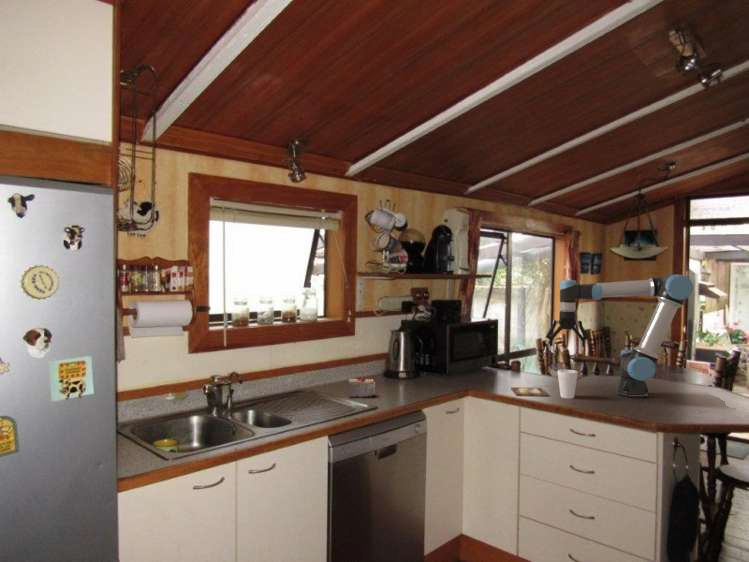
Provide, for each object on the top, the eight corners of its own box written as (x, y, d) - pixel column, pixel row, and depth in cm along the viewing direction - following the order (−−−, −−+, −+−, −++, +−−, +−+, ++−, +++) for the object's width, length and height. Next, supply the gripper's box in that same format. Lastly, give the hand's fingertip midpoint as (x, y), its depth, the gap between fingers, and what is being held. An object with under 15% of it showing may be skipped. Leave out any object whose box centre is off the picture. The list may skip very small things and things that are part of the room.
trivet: (541, 389, 287) (541, 387, 287) (549, 396, 271) (549, 394, 271) (510, 389, 288) (510, 386, 288) (516, 395, 272) (516, 393, 272)
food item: (374, 394, 275) (374, 374, 274) (375, 397, 267) (375, 377, 267) (347, 394, 273) (347, 375, 273) (347, 398, 265) (348, 378, 265)
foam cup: (573, 400, 264) (574, 373, 264) (554, 397, 269) (555, 371, 269) (579, 396, 271) (579, 370, 271) (561, 394, 277) (561, 368, 277)
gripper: (590, 310, 273) (589, 352, 274) (540, 309, 275) (539, 351, 275) (595, 311, 266) (594, 354, 266) (544, 310, 267) (543, 353, 268)
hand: (566, 353), depth 271 cm, fingers open, 13 cm apart
